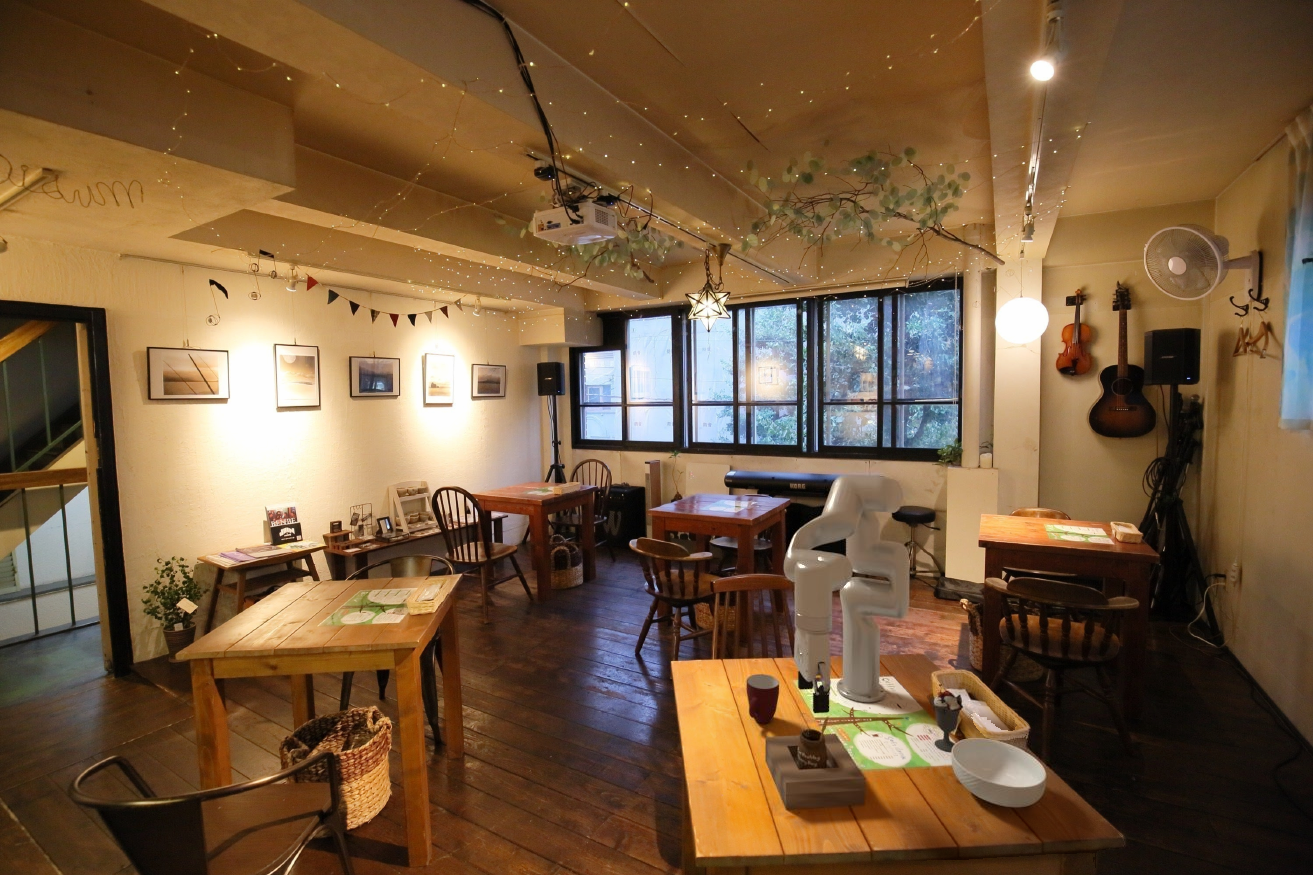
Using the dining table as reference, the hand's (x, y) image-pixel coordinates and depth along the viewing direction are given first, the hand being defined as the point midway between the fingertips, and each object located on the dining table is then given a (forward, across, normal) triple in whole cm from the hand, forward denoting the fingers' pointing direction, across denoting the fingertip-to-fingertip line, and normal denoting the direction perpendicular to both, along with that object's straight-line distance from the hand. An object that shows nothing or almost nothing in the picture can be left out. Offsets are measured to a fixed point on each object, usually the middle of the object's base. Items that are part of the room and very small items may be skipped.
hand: (813, 699), depth 126 cm
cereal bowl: (+18, +7, +36) cm, 41 cm away
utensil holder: (+15, 0, 0) cm, 15 cm away
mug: (+18, -24, -5) cm, 30 cm away
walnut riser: (+18, 0, 0) cm, 18 cm away
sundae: (+18, -10, +35) cm, 40 cm away
